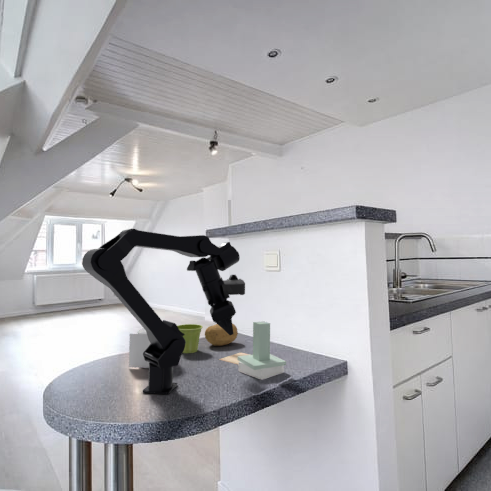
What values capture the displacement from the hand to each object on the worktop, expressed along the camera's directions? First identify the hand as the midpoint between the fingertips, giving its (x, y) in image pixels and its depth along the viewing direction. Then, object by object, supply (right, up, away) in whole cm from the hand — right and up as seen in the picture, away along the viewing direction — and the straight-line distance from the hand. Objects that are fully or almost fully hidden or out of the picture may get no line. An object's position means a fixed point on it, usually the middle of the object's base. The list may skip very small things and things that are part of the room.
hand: (229, 327), depth 95 cm
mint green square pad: (+4, -13, +11) cm, 17 cm away
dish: (+9, -12, -2) cm, 16 cm away
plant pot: (-15, -14, +20) cm, 28 cm away
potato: (-5, -14, +29) cm, 33 cm away
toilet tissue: (-23, -13, +6) cm, 27 cm away
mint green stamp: (+9, -9, -2) cm, 13 cm away
